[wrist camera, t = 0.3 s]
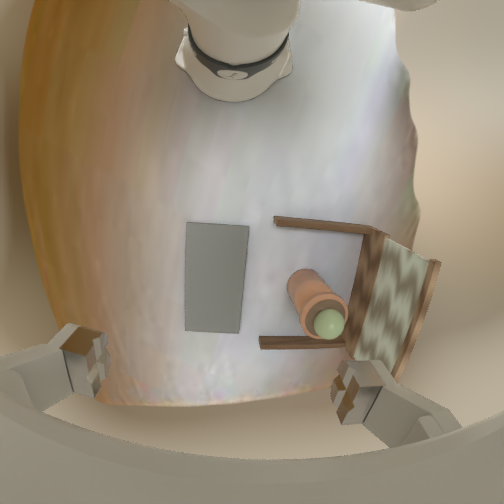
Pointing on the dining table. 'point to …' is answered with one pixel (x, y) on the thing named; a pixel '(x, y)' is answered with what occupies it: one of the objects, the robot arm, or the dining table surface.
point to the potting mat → (214, 276)
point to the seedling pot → (317, 305)
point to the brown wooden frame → (374, 299)
